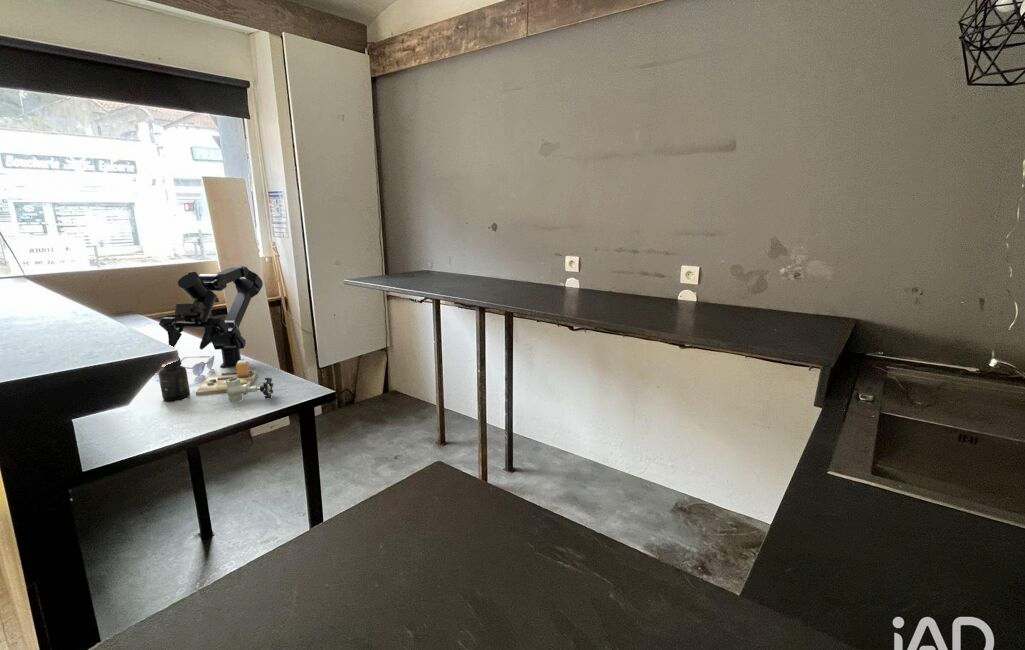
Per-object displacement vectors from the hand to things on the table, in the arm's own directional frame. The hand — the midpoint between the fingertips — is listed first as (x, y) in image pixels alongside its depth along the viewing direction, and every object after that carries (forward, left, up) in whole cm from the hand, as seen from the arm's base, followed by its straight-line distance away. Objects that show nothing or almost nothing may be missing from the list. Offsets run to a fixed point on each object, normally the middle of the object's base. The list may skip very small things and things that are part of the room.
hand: (185, 349), depth 149 cm
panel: (0, +10, -13) cm, 16 cm away
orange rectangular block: (-5, +14, -11) cm, 19 cm away
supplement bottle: (+7, -2, -13) cm, 15 cm away
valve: (+14, +19, -13) cm, 27 cm away
